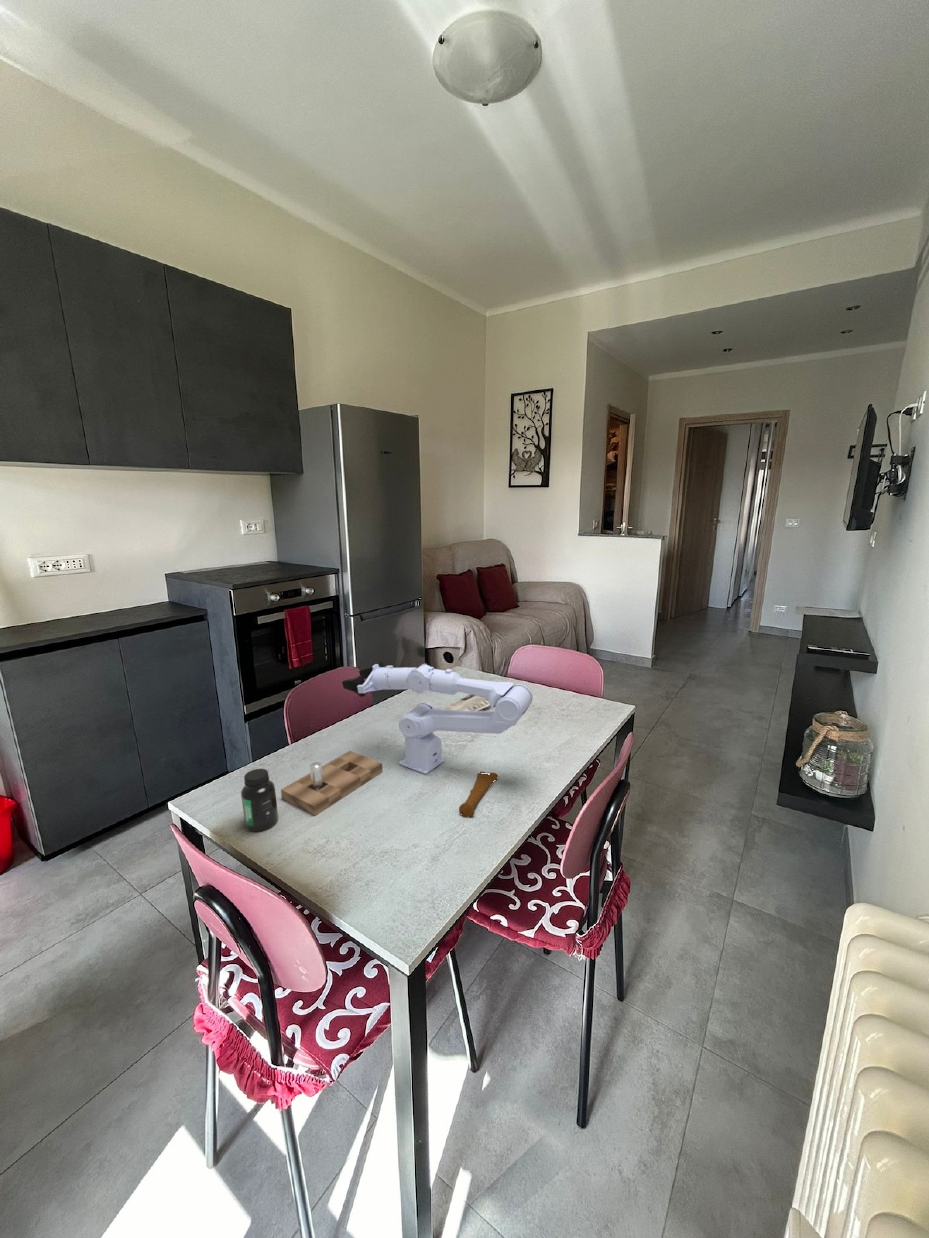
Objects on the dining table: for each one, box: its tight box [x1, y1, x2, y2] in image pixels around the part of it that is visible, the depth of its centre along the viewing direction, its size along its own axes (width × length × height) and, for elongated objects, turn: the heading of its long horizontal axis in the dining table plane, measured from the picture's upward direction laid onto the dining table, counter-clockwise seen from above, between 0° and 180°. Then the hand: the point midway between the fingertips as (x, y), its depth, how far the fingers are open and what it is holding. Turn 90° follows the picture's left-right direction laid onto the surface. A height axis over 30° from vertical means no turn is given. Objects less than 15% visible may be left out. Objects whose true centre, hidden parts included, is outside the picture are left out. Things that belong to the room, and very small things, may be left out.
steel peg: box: [309, 761, 324, 791], centre depth 119 cm, size 3×3×8 cm
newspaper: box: [441, 694, 491, 711], centre depth 169 cm, size 35×12×4 cm, turn 143°
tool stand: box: [280, 750, 384, 817], centre depth 123 cm, size 12×22×2 cm, turn 146°
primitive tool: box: [458, 771, 499, 818], centre depth 119 cm, size 19×6×4 cm, turn 164°
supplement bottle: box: [240, 768, 279, 833], centre depth 108 cm, size 7×7×12 cm
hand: (352, 679), depth 137 cm, fingers open, 7 cm apart
